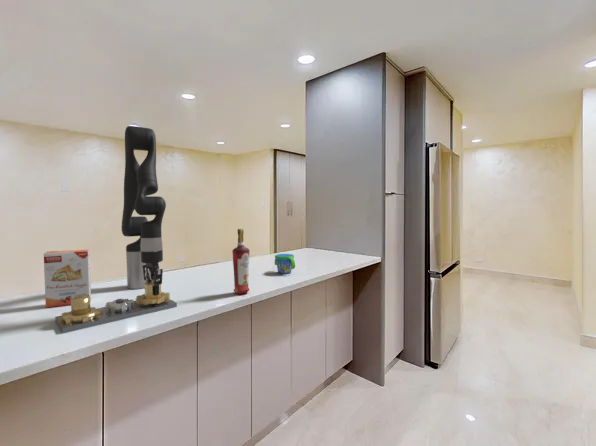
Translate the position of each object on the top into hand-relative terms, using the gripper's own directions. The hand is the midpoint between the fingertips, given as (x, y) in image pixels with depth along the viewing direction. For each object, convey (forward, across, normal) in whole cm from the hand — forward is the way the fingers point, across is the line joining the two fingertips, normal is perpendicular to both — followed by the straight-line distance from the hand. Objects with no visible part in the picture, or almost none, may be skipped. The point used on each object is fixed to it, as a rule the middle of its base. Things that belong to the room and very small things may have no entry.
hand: (153, 293), depth 120 cm
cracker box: (+5, -27, -22) cm, 35 cm away
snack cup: (+5, -8, +75) cm, 76 cm away
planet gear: (+2, 0, 0) cm, 2 cm away
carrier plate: (+5, 0, -12) cm, 13 cm away
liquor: (+5, +9, +34) cm, 36 cm away
